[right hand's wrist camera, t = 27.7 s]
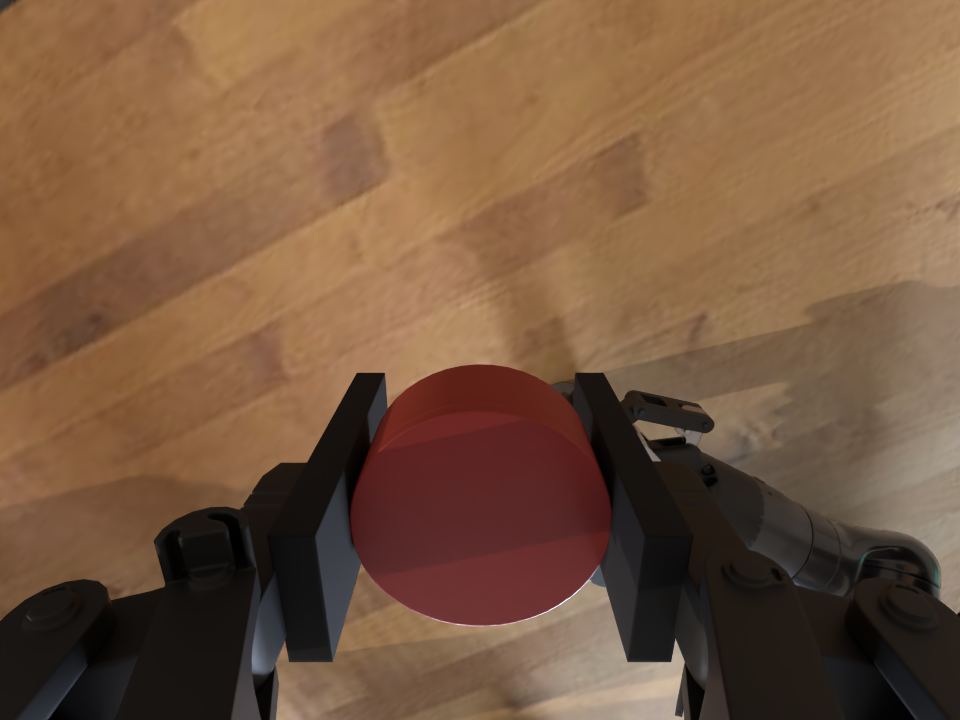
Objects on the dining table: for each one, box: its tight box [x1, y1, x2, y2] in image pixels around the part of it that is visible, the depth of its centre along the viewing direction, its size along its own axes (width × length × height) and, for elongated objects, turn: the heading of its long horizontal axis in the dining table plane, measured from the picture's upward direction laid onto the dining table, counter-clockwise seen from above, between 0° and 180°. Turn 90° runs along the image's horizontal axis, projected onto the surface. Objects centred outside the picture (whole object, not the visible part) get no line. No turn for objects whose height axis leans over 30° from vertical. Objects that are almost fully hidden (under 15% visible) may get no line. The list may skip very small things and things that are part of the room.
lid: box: [349, 365, 612, 626], centre depth 12 cm, size 5×5×2 cm
